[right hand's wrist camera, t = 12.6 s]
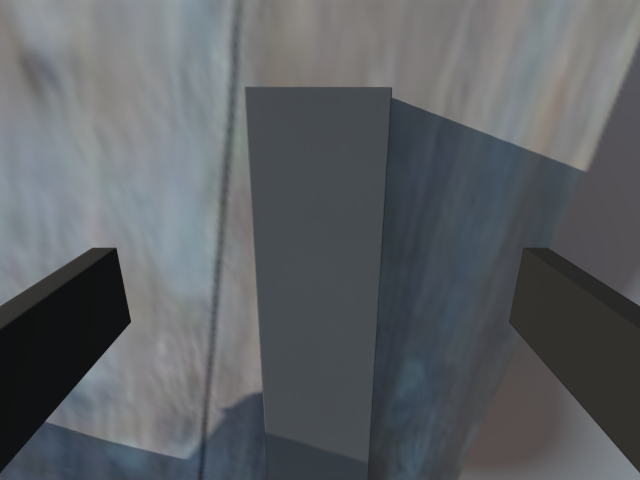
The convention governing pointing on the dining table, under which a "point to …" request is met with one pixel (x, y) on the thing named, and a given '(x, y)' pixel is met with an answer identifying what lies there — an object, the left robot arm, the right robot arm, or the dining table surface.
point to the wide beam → (318, 270)
